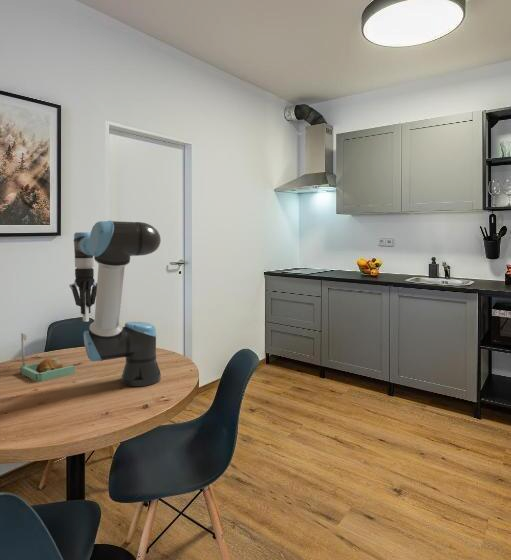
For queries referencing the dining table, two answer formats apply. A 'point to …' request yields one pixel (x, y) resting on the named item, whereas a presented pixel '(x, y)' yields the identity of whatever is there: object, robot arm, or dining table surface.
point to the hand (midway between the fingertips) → (85, 321)
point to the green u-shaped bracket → (38, 377)
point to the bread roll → (49, 365)
